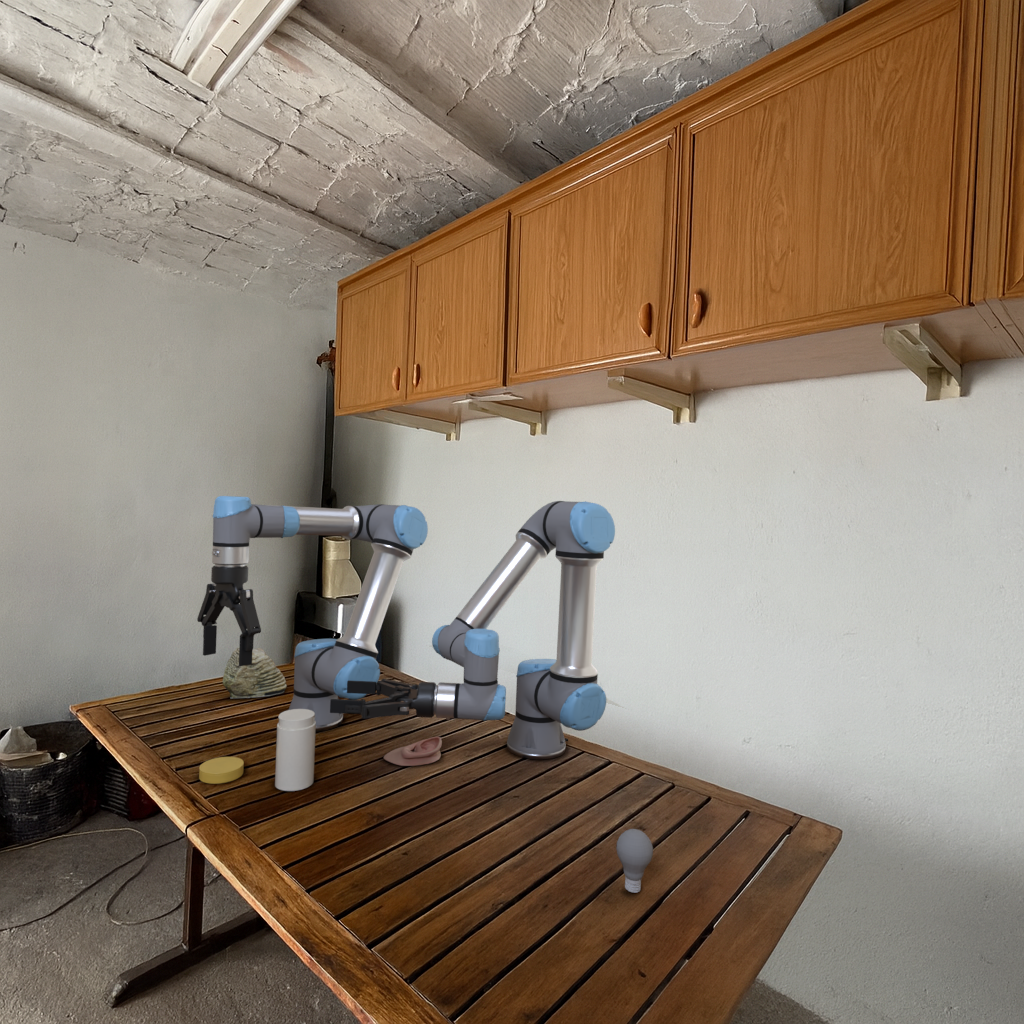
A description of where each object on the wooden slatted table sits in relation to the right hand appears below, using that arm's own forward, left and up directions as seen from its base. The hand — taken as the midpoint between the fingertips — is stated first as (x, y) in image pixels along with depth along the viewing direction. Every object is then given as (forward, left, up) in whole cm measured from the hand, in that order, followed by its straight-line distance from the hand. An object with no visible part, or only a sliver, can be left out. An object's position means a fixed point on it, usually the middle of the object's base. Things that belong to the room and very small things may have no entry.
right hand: (339, 695), depth 139 cm
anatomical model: (-20, -8, -20) cm, 29 cm away
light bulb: (-39, +56, -20) cm, 71 cm away
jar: (+8, -4, -20) cm, 22 cm away
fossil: (+13, -71, -20) cm, 74 cm away
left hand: (+23, -13, +6) cm, 27 cm away
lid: (+23, -13, -18) cm, 32 cm away
